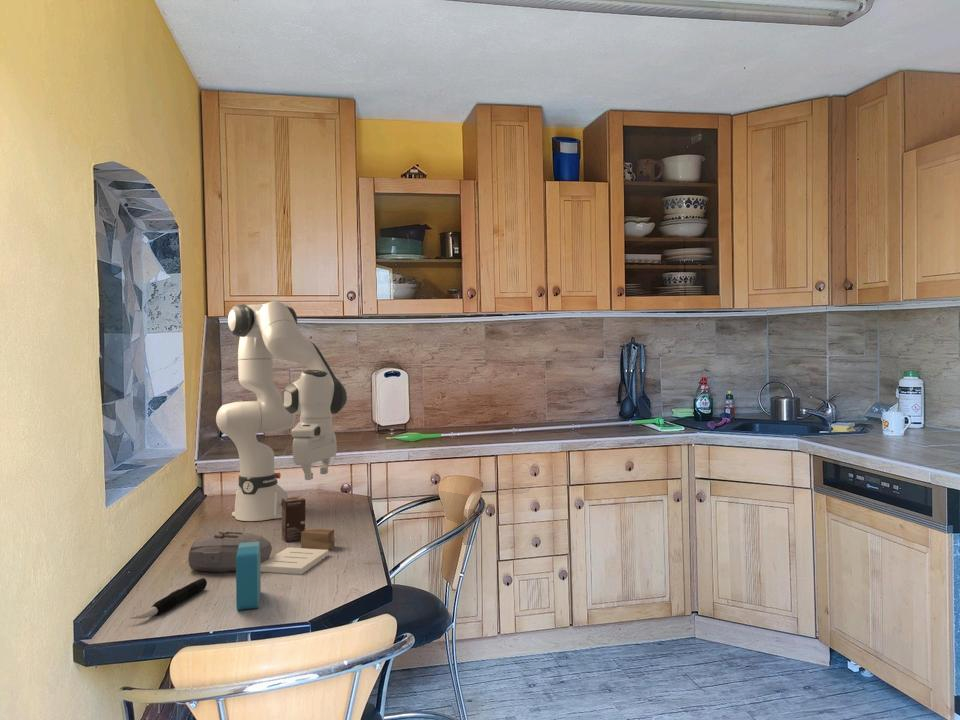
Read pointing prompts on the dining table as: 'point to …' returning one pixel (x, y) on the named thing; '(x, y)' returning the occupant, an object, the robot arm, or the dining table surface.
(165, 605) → the utility knife
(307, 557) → the board
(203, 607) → the dining table surface
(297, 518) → the box
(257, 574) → the teal arch block
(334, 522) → the dining table surface
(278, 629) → the dining table surface
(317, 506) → the dining table surface
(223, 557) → the grey rounded bag
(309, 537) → the block
